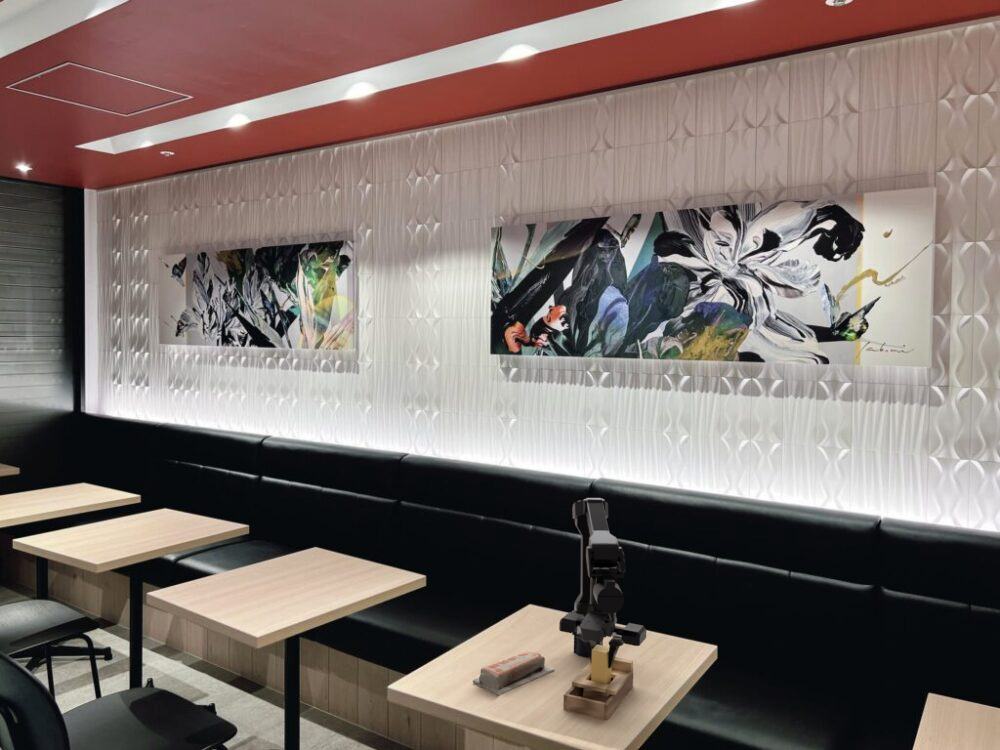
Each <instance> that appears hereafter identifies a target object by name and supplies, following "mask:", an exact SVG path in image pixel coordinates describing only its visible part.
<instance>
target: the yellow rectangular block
mask: <svg viewBox="0 0 1000 750" xmlns="http://www.w3.org/2000/svg"><path fill="white" fill-rule="evenodd" d="M609 648H610V647H609V646H608V645H603V646H602V645H596V646H595V647H594V648H593V649H592V666H591V681H594V682H599V683H603V684H608V685H609V684H610V683H611V668H608V657H609ZM603 693H604V692H603Z"/></svg>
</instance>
